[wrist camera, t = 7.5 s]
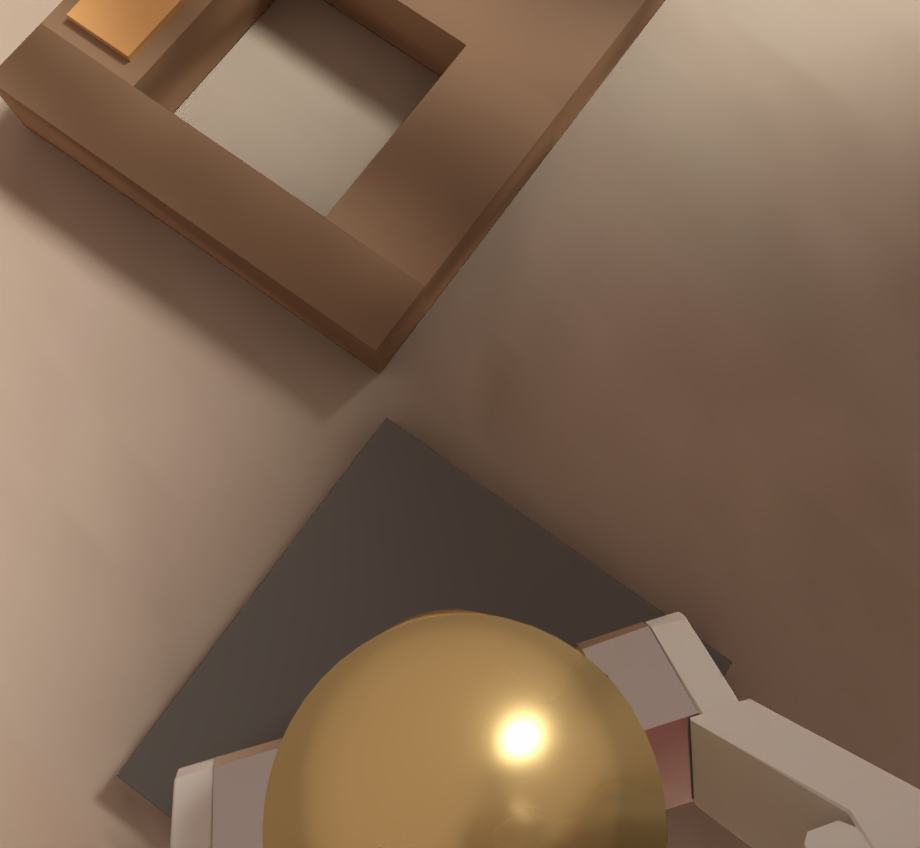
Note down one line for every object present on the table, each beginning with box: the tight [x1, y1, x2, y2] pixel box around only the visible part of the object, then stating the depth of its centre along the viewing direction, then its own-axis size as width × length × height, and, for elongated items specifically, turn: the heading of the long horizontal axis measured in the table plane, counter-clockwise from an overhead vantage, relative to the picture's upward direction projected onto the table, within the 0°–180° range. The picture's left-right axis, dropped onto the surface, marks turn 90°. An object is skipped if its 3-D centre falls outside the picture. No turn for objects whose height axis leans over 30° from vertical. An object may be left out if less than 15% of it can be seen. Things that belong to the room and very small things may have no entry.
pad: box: [117, 418, 732, 818], centre depth 20 cm, size 10×10×1 cm
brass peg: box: [262, 609, 667, 848], centre depth 12 cm, size 4×4×8 cm
